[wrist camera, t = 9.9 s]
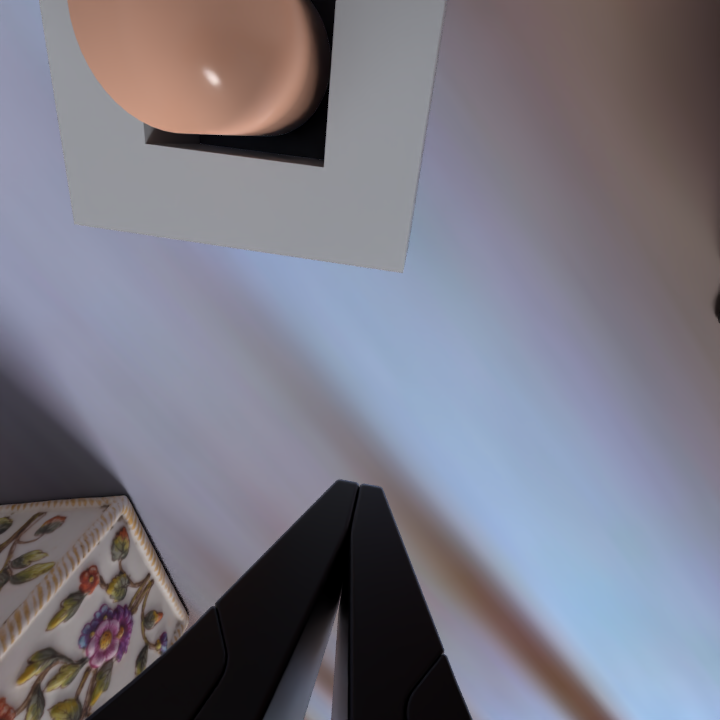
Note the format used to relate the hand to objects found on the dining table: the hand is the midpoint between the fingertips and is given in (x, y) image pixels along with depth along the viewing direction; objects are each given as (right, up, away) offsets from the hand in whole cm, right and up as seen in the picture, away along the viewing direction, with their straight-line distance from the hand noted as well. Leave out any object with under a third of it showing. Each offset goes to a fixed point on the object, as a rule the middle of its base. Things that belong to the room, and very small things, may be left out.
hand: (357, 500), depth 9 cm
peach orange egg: (-3, +13, +8) cm, 15 cm away
